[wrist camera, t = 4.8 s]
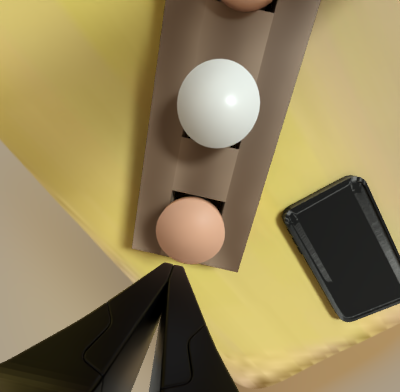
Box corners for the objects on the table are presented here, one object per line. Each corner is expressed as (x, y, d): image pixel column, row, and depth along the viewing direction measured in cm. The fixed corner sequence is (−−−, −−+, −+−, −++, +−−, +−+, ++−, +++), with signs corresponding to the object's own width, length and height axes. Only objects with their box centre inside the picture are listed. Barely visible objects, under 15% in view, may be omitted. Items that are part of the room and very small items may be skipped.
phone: (361, 171, 17) (418, 296, 20) (352, 170, 19) (408, 288, 21) (279, 215, 19) (342, 325, 22) (275, 211, 20) (336, 317, 23)
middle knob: (257, 86, 15) (270, 69, 12) (239, 153, 17) (247, 155, 13) (191, 72, 15) (185, 50, 12) (179, 140, 17) (170, 139, 13)
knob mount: (324, -56, 14) (353, -106, 11) (234, 254, 21) (237, 272, 18) (190, -84, 14) (184, -141, 12) (143, 234, 21) (131, 248, 18)
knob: (228, 195, 18) (232, 209, 14) (215, 246, 19) (215, 270, 15) (172, 183, 18) (161, 193, 14) (162, 234, 19) (151, 255, 16)
